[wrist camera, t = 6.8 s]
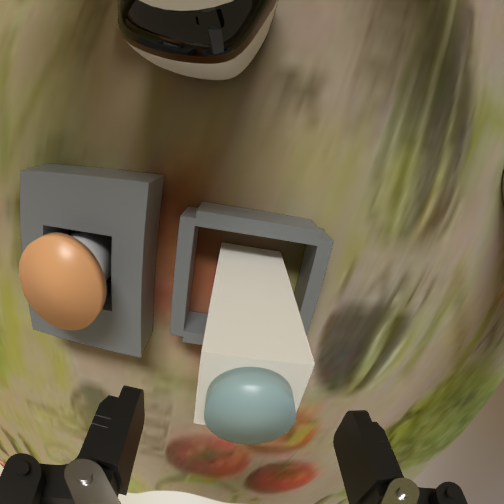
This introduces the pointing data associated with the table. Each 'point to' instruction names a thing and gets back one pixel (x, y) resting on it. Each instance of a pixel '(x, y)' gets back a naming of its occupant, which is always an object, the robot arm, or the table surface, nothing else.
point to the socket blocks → (149, 248)
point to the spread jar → (197, 33)
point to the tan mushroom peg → (67, 277)
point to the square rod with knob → (252, 349)
